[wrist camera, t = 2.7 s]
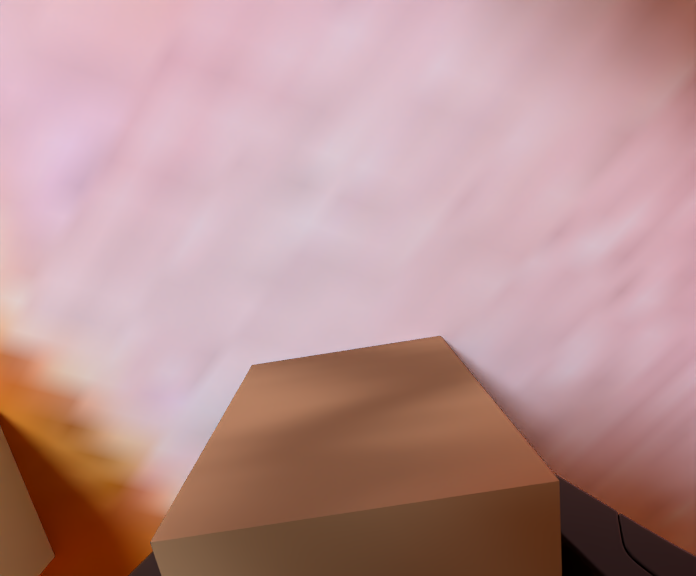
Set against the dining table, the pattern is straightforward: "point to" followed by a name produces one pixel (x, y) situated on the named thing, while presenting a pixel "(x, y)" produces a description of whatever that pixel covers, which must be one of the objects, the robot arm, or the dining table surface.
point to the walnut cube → (364, 476)
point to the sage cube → (19, 523)
